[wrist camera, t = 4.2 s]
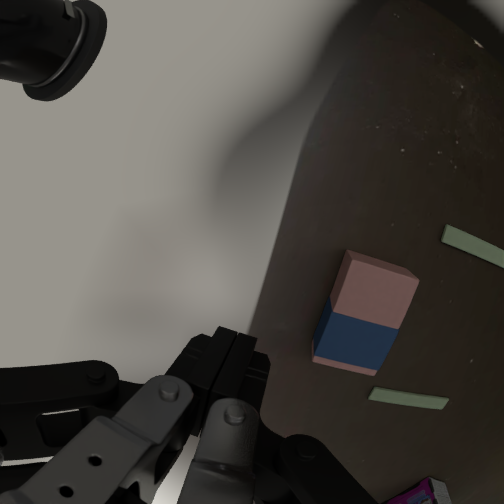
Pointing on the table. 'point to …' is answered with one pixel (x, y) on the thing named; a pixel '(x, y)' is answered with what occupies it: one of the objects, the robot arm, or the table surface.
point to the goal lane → (470, 246)
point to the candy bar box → (424, 493)
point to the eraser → (362, 314)
